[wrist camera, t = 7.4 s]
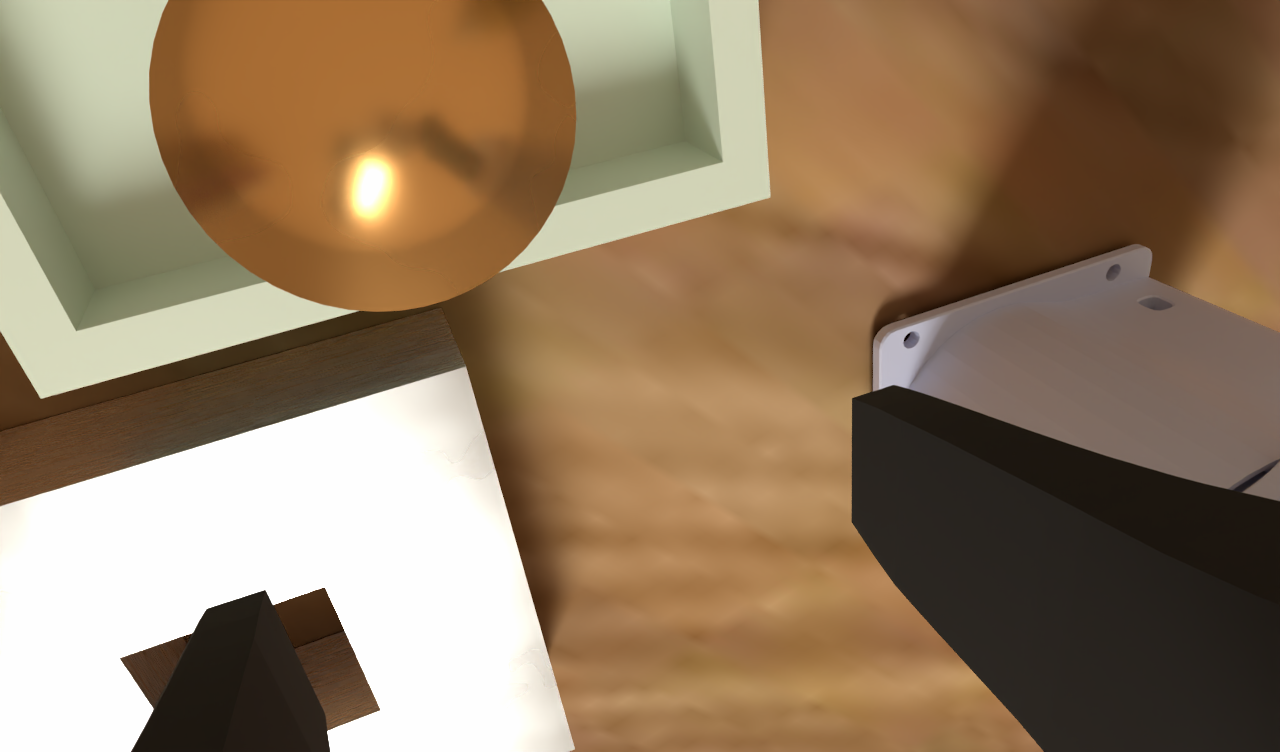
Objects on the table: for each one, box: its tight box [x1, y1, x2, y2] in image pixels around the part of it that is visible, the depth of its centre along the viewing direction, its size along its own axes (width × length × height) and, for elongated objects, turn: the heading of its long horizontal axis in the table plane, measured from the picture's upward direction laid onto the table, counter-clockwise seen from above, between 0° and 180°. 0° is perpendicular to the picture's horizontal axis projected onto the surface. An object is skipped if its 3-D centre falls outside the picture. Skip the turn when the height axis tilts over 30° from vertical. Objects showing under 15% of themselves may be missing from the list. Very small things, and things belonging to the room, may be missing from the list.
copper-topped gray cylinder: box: [149, 0, 576, 312], centre depth 12 cm, size 4×4×8 cm
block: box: [0, 308, 575, 752], centre depth 20 cm, size 12×12×3 cm
